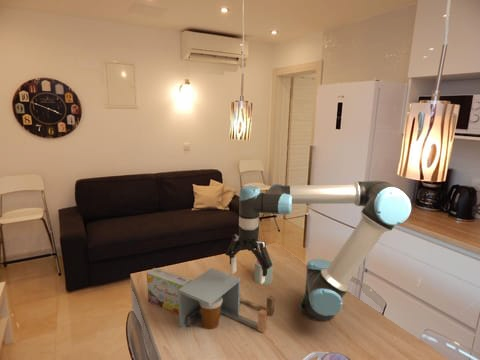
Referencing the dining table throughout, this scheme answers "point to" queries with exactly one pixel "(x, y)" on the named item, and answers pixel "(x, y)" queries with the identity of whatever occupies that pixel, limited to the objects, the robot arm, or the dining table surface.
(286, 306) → the dining table surface
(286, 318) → the dining table surface
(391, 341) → the dining table surface
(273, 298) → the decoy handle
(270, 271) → the mug
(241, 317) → the wood-tipped metal rod
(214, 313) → the disposable coffee cup
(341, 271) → the robot arm
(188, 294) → the shelf cubby
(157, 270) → the snack box
